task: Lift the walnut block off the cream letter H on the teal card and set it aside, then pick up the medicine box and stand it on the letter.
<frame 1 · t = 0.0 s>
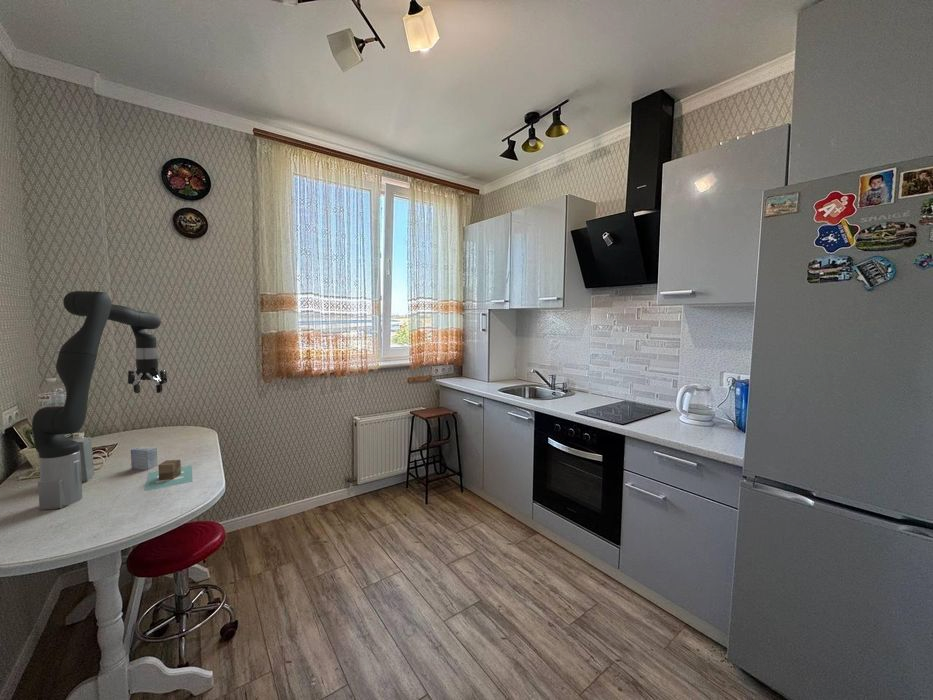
hand: (148, 392, 165), 29 cm above the table, tool pointing down, fingers open, 8 cm apart
medicine box: (144, 468, 153), on the table
walnut block: (170, 476, 144), resting on letter card
skincare box: (79, 480, 141), on the table
letter card: (170, 477, 144), on the table
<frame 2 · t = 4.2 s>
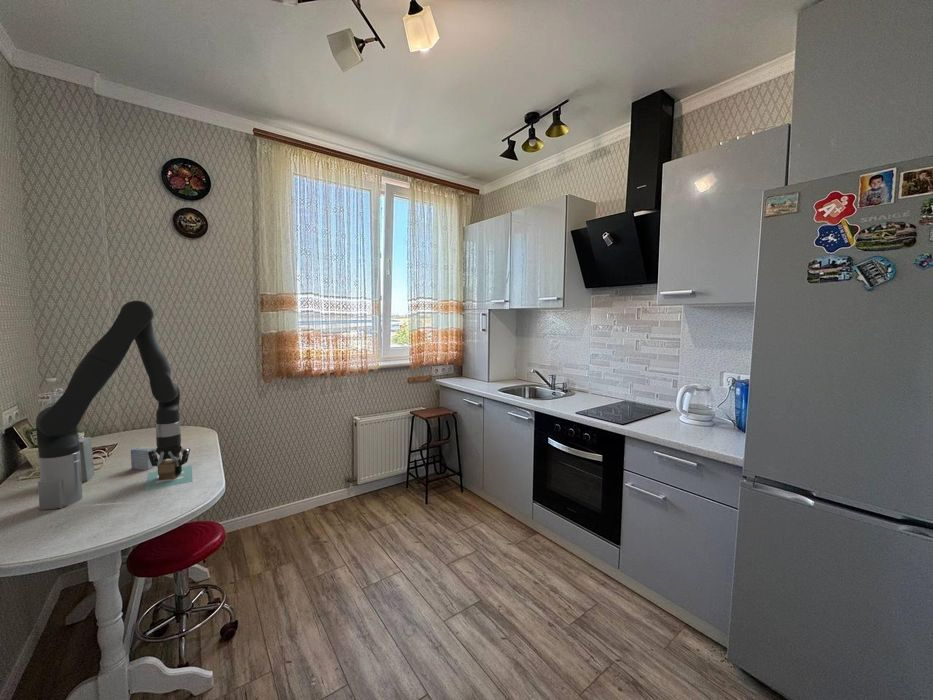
hand: (170, 474, 144), 1 cm above the table, tool pointing down, fingers closed on walnut block, 5 cm apart
walnut block: (170, 476, 144), resting on letter card, touching gripper
everything else where it was.
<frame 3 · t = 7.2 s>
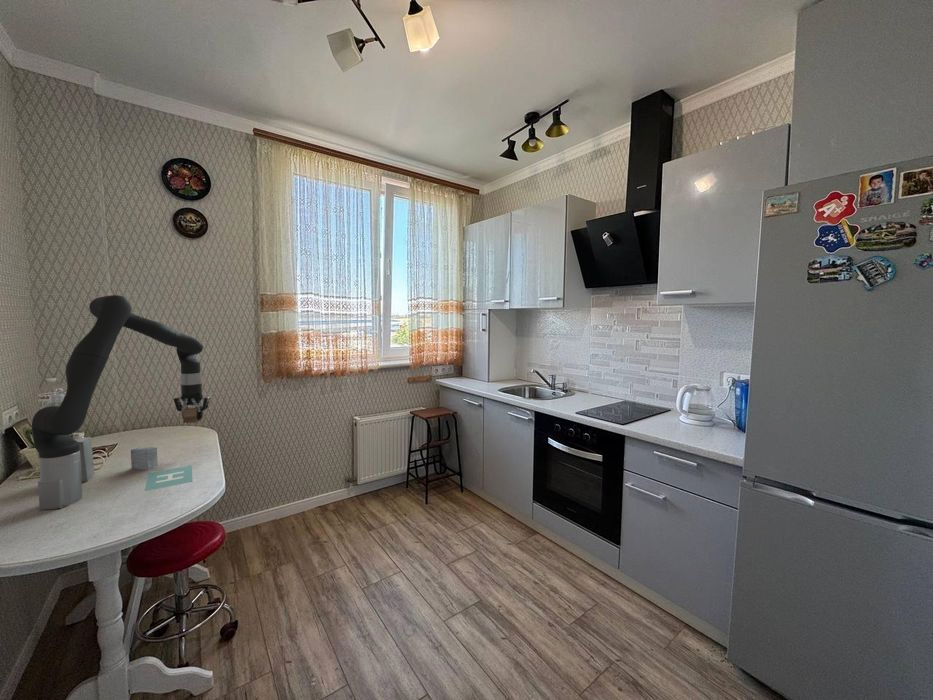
hand: (192, 419, 165), 18 cm above the table, tool pointing down, fingers closed on walnut block, 5 cm apart
walnut block: (192, 421, 165), point 17 cm above the table, touching gripper
everything else where it was.
when the fingers open (2 cm above the table, at t = 10.1 s): walnut block drops 2 cm, on the table.
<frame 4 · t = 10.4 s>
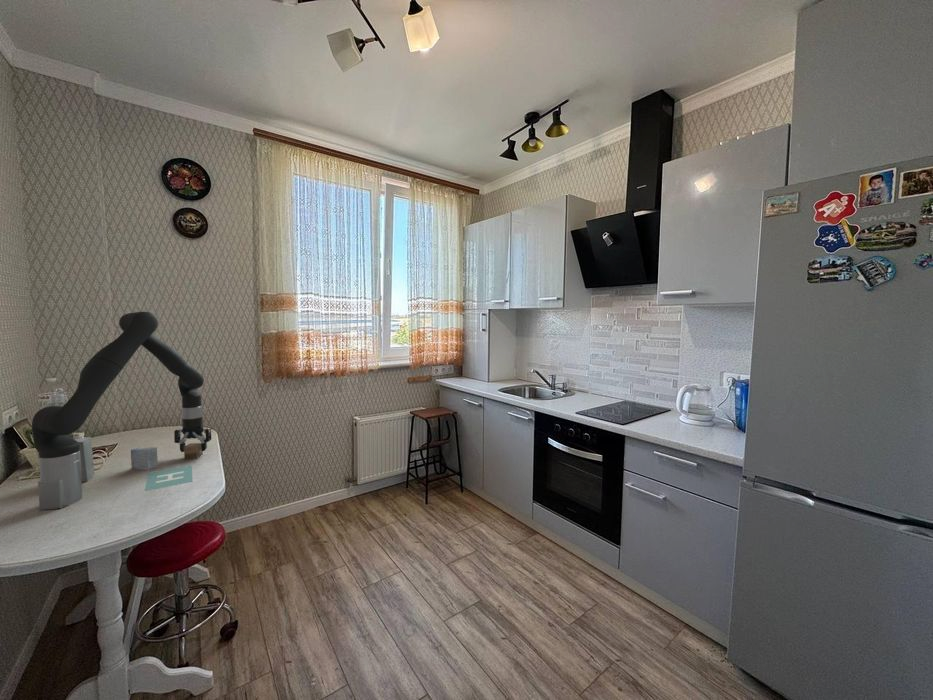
hand: (193, 451, 166), 3 cm above the table, tool pointing down, fingers open, 8 cm apart
walnut block: (193, 457, 166), on the table
everything else where it was.
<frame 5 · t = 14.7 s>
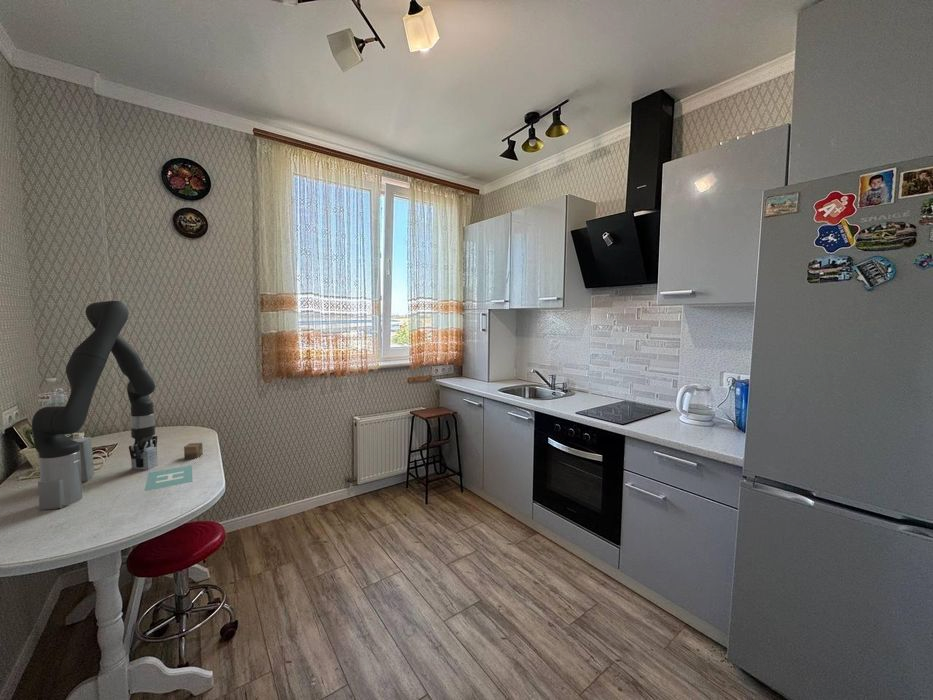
hand: (144, 464, 153), 2 cm above the table, tool pointing down, fingers closed on medicine box, 5 cm apart
medicine box: (145, 468, 153), on the table, touching gripper
everything else where it was.
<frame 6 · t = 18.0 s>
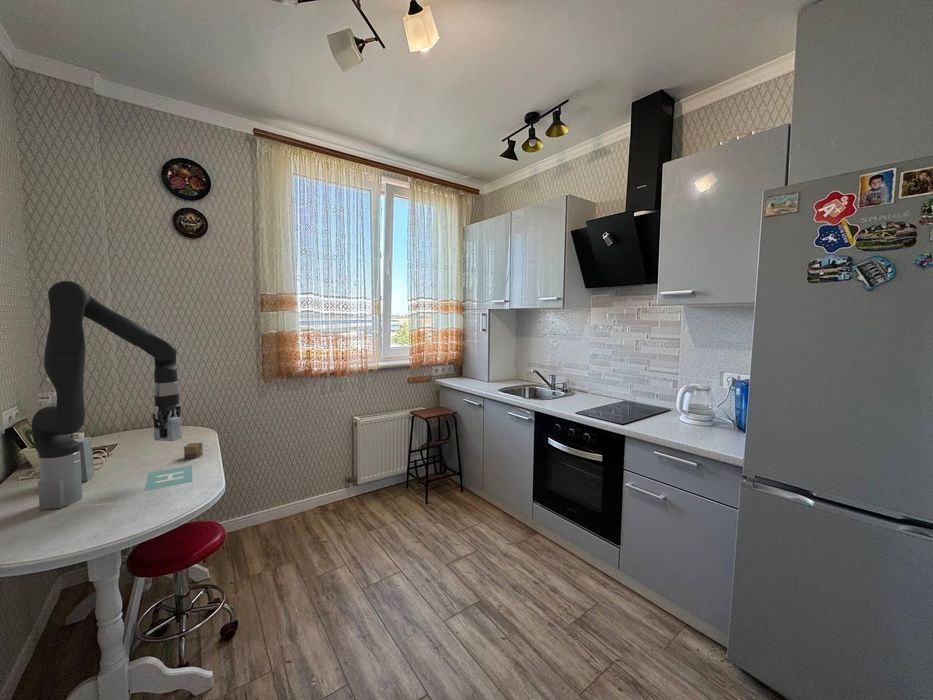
hand: (168, 435, 143), 17 cm above the table, tool pointing down, fingers closed on medicine box, 5 cm apart
medicine box: (168, 440, 143), point 15 cm above the table, touching gripper
everything else where it was.
when the fingers open (3 cm above the table, at t = 21.0 s): medicine box drops 1 cm, resting on letter card.
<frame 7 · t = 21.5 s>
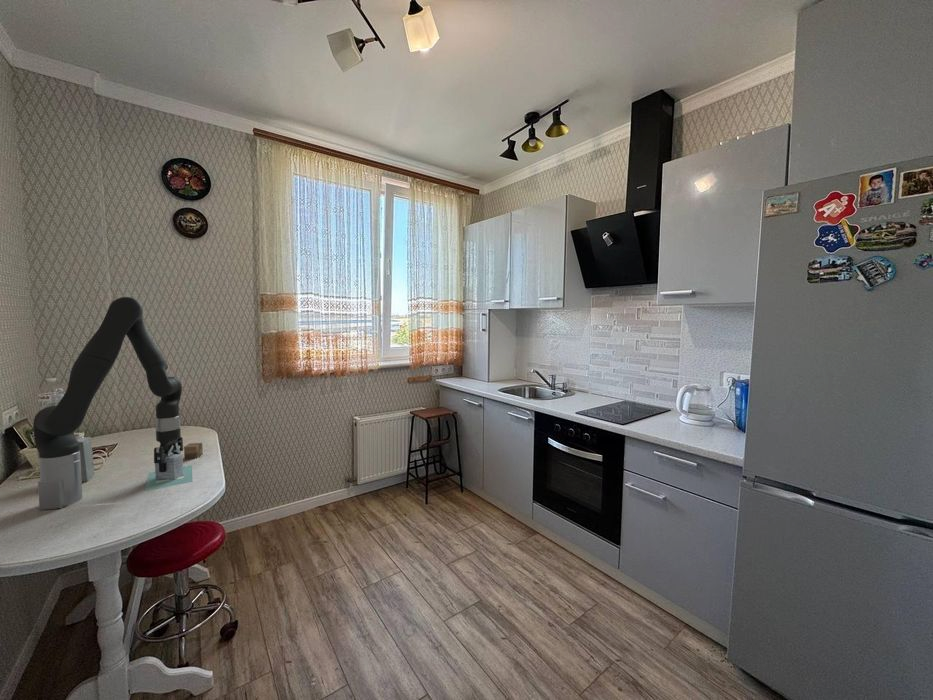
hand: (169, 467, 144), 4 cm above the table, tool pointing down, fingers open, 8 cm apart
medicine box: (169, 477, 144), resting on letter card
everything else where it was.
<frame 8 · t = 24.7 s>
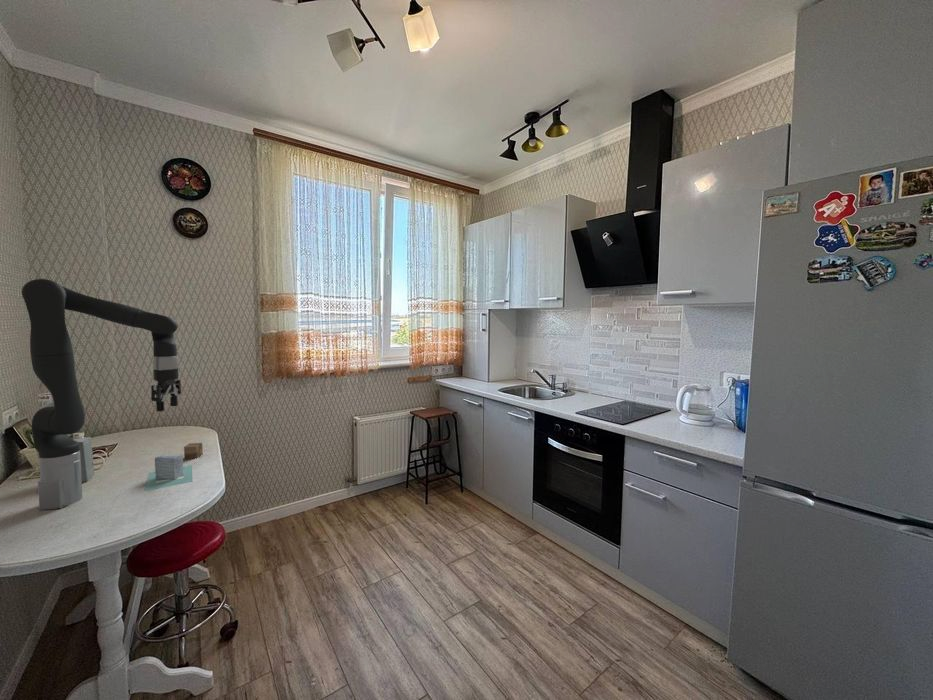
hand: (167, 408, 142), 28 cm above the table, tool pointing down, fingers open, 8 cm apart
nothing on the table moved.
at the end: medicine box inside the target area on the letter card (0.1 cm from its centre), point 0.2 cm above the letter card's base; medicine box tilted 0°; walnut block touching table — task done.
